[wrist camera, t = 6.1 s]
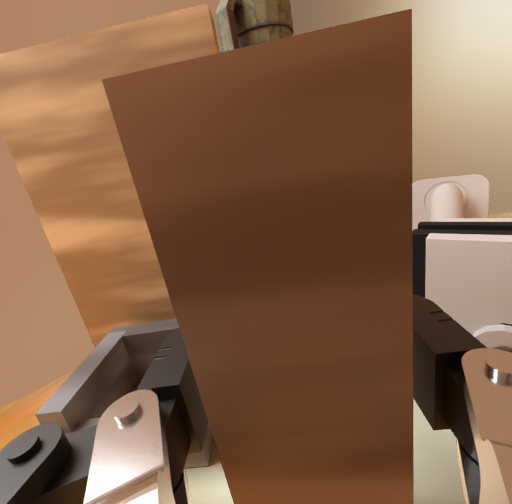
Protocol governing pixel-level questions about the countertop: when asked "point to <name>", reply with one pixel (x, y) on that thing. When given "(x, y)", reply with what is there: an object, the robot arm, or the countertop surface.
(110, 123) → the panel
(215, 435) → the rail
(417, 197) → the wall hook
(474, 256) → the hinge
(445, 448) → the countertop surface
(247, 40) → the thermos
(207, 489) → the countertop surface
